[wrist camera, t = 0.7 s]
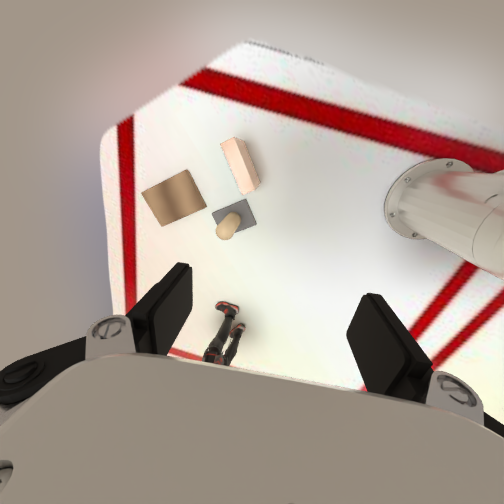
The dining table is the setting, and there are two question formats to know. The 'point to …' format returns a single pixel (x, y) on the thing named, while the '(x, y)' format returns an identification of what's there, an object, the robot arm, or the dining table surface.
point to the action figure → (224, 338)
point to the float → (233, 219)
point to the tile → (240, 165)
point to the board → (174, 198)
